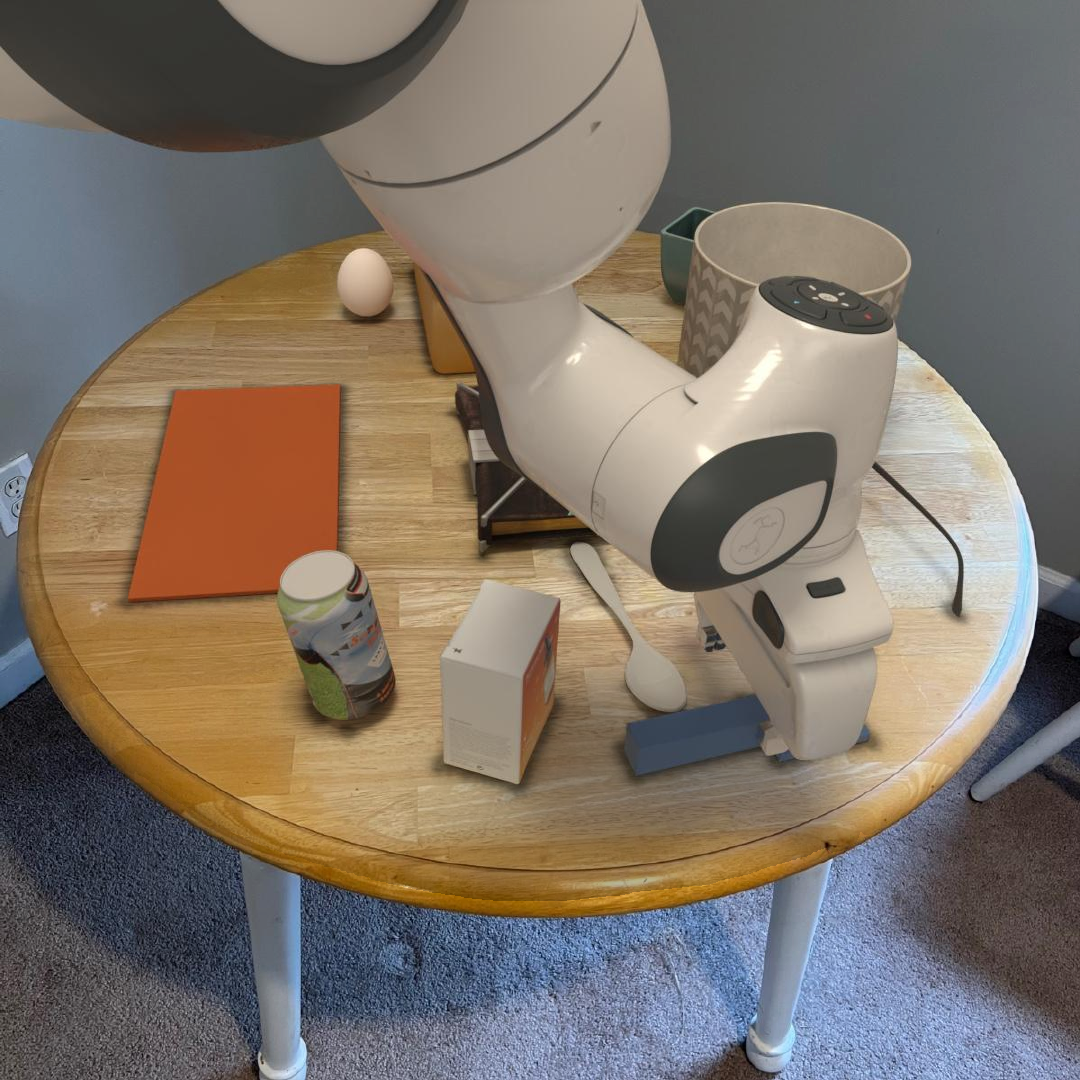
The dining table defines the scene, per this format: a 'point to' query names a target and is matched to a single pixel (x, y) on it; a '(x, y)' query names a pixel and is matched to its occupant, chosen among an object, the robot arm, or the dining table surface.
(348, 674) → the beverage can
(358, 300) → the egg
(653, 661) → the spoon
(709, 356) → the planter
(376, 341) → the dining table surface
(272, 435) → the flat orange board
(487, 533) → the book
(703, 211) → the flower pot
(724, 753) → the blue stepped bar
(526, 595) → the small box
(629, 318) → the dining table surface
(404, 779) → the dining table surface
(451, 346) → the bread
